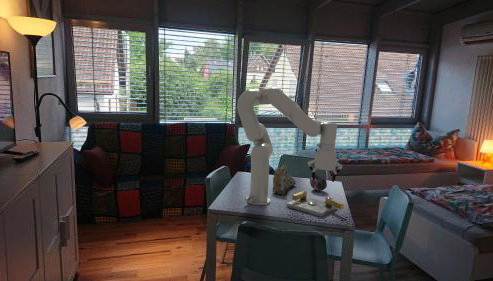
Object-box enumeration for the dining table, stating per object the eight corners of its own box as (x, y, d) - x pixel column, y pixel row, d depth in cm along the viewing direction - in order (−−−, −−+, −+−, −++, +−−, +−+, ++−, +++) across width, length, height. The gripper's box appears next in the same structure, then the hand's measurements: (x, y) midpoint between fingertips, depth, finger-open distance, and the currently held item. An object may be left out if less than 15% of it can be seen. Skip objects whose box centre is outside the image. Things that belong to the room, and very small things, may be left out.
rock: (284, 197, 189) (286, 171, 187) (268, 194, 193) (269, 168, 191) (298, 185, 213) (299, 162, 211) (283, 183, 218) (284, 160, 215)
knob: (344, 210, 164) (345, 203, 164) (338, 211, 163) (339, 204, 162) (328, 203, 174) (329, 196, 174) (323, 204, 172) (324, 197, 172)
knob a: (296, 202, 173) (297, 196, 172) (290, 201, 175) (291, 194, 174) (307, 198, 181) (308, 191, 181) (301, 196, 184) (302, 190, 183)
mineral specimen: (328, 192, 200) (329, 176, 199) (311, 192, 200) (312, 176, 198) (323, 188, 210) (324, 172, 209) (307, 187, 209) (308, 172, 208)
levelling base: (321, 217, 160) (322, 212, 160) (286, 206, 173) (286, 201, 172) (337, 208, 173) (337, 203, 173) (303, 199, 186) (303, 194, 185)
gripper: (310, 146, 163) (306, 180, 166) (346, 150, 162) (341, 184, 164) (308, 144, 170) (305, 176, 173) (343, 147, 169) (339, 180, 172)
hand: (323, 180), depth 169 cm, fingers open, 9 cm apart
